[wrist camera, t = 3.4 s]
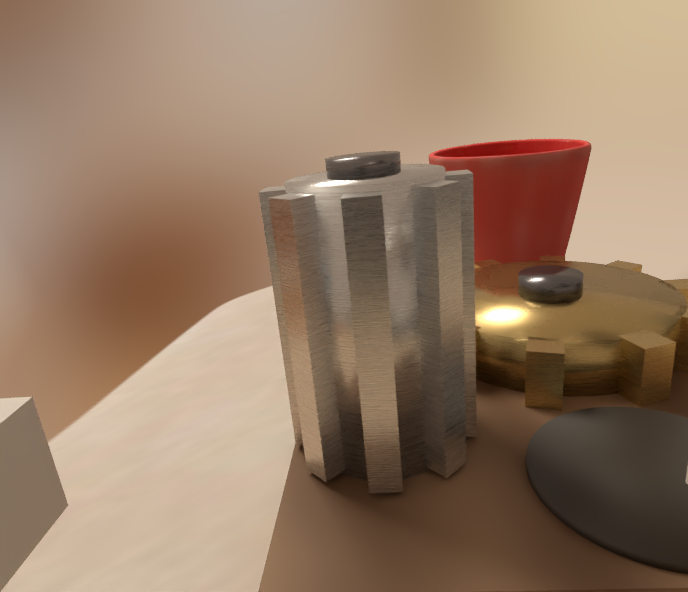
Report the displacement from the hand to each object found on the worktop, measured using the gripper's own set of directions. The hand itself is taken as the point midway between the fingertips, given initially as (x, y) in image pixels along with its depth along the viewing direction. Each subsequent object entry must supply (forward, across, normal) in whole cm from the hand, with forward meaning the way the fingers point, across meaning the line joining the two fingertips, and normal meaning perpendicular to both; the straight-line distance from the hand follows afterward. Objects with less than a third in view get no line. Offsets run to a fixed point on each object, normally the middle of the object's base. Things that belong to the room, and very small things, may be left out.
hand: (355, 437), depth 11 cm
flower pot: (+30, +10, -7) cm, 33 cm away
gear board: (+12, +6, -7) cm, 15 cm away
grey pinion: (+8, 0, -6) cm, 10 cm away
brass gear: (+16, +9, -6) cm, 20 cm away
